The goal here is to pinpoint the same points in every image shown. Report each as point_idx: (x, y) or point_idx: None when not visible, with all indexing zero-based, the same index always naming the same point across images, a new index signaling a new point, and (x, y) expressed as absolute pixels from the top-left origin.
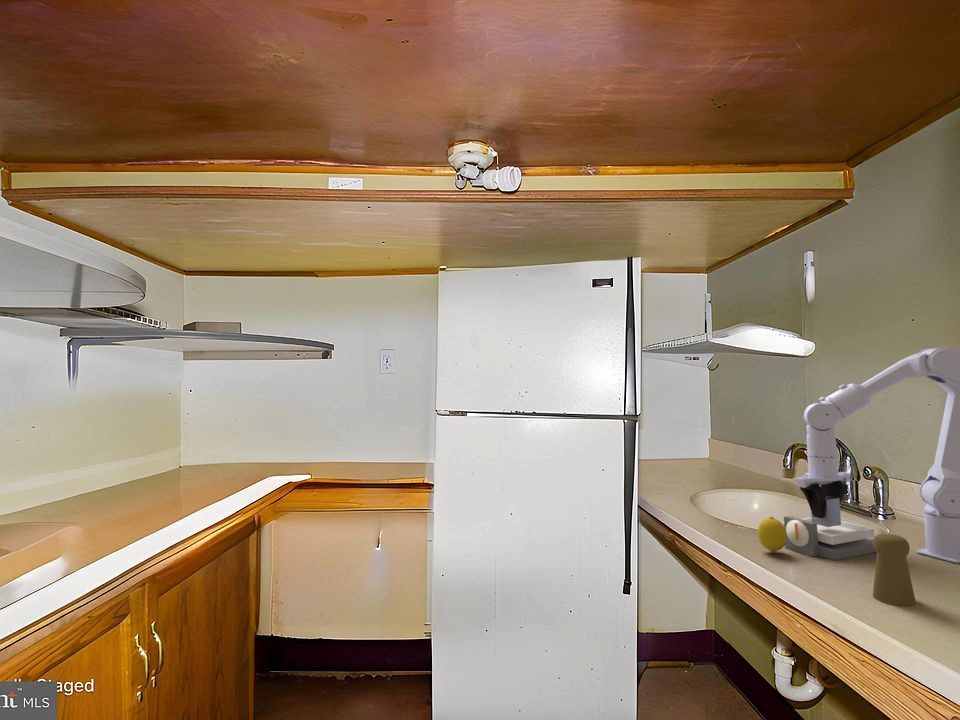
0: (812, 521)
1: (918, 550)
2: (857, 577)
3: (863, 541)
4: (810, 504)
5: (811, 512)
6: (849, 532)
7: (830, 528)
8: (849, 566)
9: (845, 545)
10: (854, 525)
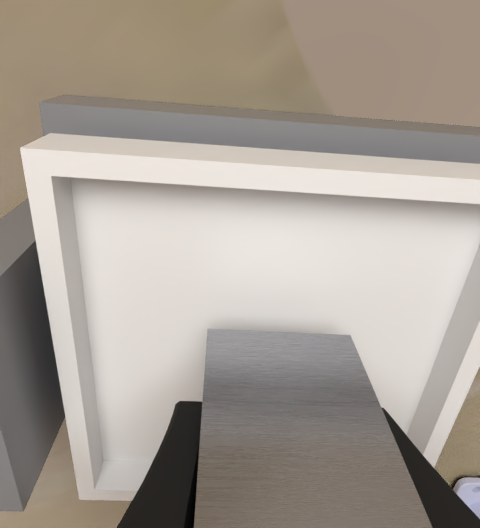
0: (207, 342)
1: (468, 488)
2: (25, 513)
3: None
4: (144, 503)
5: (204, 394)
6: None
7: (343, 332)
8: None
9: None
10: (428, 431)
